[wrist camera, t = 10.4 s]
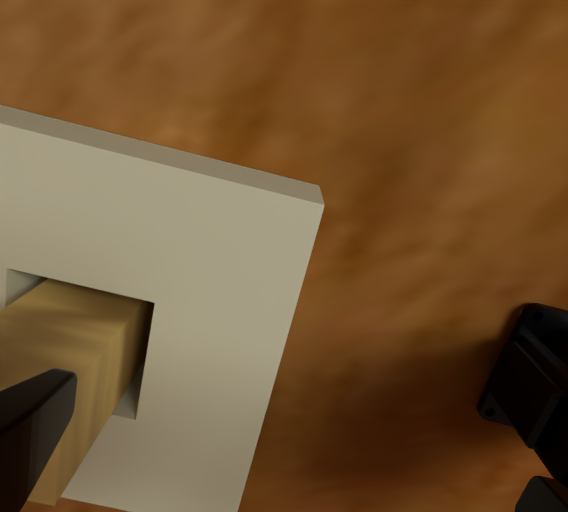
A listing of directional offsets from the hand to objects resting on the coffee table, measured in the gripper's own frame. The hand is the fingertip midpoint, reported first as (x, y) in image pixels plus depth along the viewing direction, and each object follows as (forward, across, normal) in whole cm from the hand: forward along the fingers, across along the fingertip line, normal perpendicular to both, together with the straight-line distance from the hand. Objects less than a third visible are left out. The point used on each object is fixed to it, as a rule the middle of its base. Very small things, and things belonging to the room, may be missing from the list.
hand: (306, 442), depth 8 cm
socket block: (+12, +8, +5) cm, 15 cm away
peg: (+12, +8, +5) cm, 15 cm away
